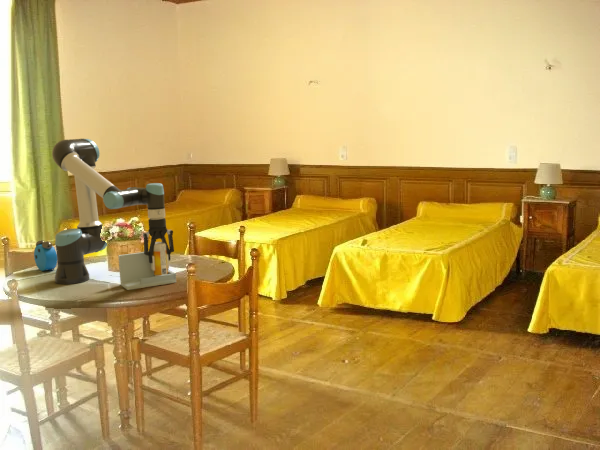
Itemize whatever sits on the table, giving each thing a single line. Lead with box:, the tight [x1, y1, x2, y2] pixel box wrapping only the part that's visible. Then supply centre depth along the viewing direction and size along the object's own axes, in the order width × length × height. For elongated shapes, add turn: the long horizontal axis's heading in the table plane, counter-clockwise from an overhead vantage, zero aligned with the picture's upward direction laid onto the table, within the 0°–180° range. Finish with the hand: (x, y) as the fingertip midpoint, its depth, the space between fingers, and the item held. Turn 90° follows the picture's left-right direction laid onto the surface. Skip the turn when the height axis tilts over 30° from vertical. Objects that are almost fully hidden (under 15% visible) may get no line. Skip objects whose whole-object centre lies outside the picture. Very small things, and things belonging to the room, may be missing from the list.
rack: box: [118, 250, 177, 291], centre depth 295 cm, size 22×11×14 cm, turn 120°
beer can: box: [153, 241, 168, 276], centre depth 298 cm, size 6×6×15 cm
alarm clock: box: [33, 239, 58, 272], centre depth 331 cm, size 13×6×15 cm, turn 47°
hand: (160, 268), depth 299 cm, fingers closed on beer can, 6 cm apart
